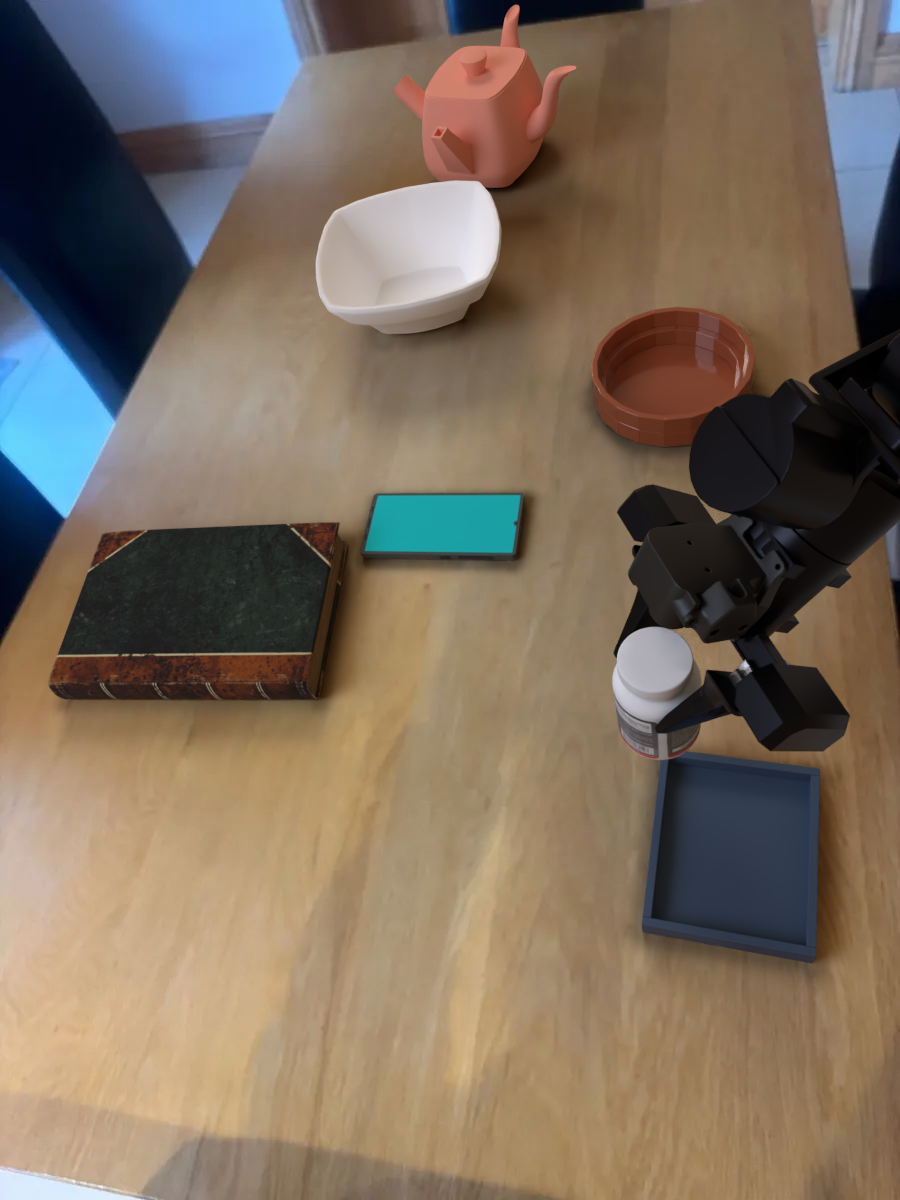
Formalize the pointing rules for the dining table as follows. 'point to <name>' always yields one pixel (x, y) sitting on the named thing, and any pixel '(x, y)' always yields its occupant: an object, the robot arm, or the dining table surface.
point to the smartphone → (444, 526)
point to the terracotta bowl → (669, 373)
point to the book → (204, 614)
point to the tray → (735, 855)
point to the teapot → (485, 111)
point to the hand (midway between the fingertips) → (638, 692)
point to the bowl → (409, 256)
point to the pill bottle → (654, 691)
